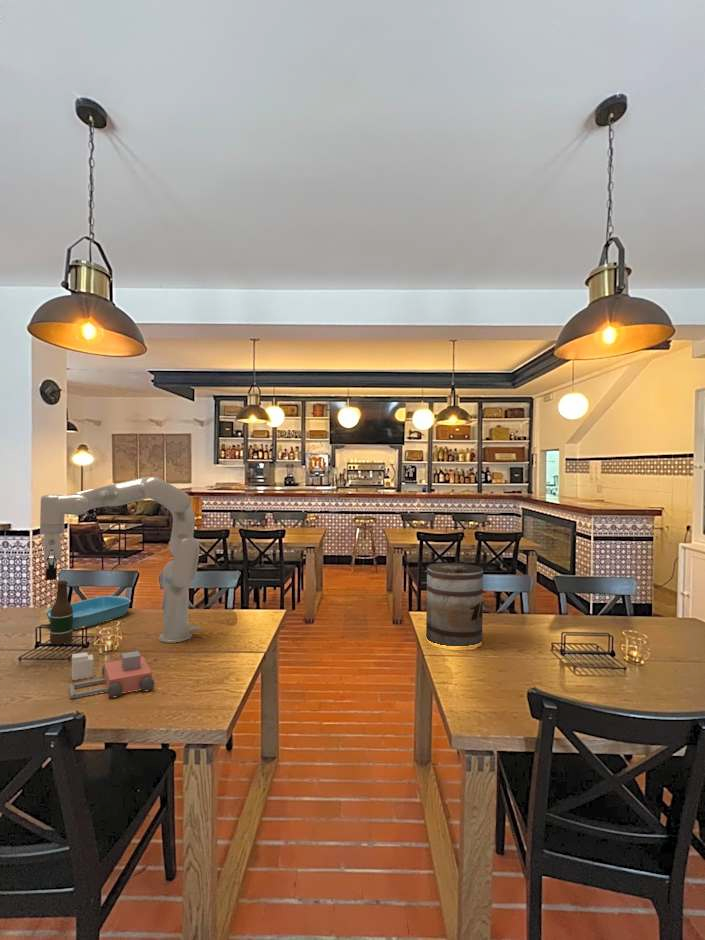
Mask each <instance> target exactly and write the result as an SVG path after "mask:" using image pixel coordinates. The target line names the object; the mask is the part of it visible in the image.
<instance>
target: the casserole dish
mask: <svg viewBox="0 0 705 940" xmlns="http://www.w3.org/2000/svg"><path fill="white" fill-rule="evenodd" d="M131 602H132V600H131V599H129V598H128V597H127V596H122V595H120V596H119V595H103V596H101V595H100V596H96V597H92V598H88V599H87V598H86V599H84V600H80V601H75V602H72V603H70V604H71V606H72V609H73V629H74V628H78V627H82V626H84V625H85V626H87V628H90V627H93V625H94V626H96V624H97V625H99V624H98V623H100V622H103V621H106V620H109V619H113V618H116V619H118V618H117V617H119V618H121V617H122V616H124V615H126V613H127V612H128V611H129V608H130V605H131ZM51 609H52V608H50V609H47V610H46V612H45V614H46V616H47V618H48V619H47V620H48V622H49V623H50V614H51ZM120 616H121V617H120ZM113 620H114V619H113ZM103 623H104V622H103ZM100 624H101V623H100Z"/></svg>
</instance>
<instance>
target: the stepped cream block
mask: <svg viewBox="0 0 705 940" xmlns="http://www.w3.org/2000/svg"><path fill="white" fill-rule="evenodd" d="M90 677H92V678H94V655H93V654H88V651H87V652H80V653H72V654H71V681H72V680H75V681H79V680H78V679H81V680H85V679H84V678H86V679H91V678H90Z"/></svg>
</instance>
